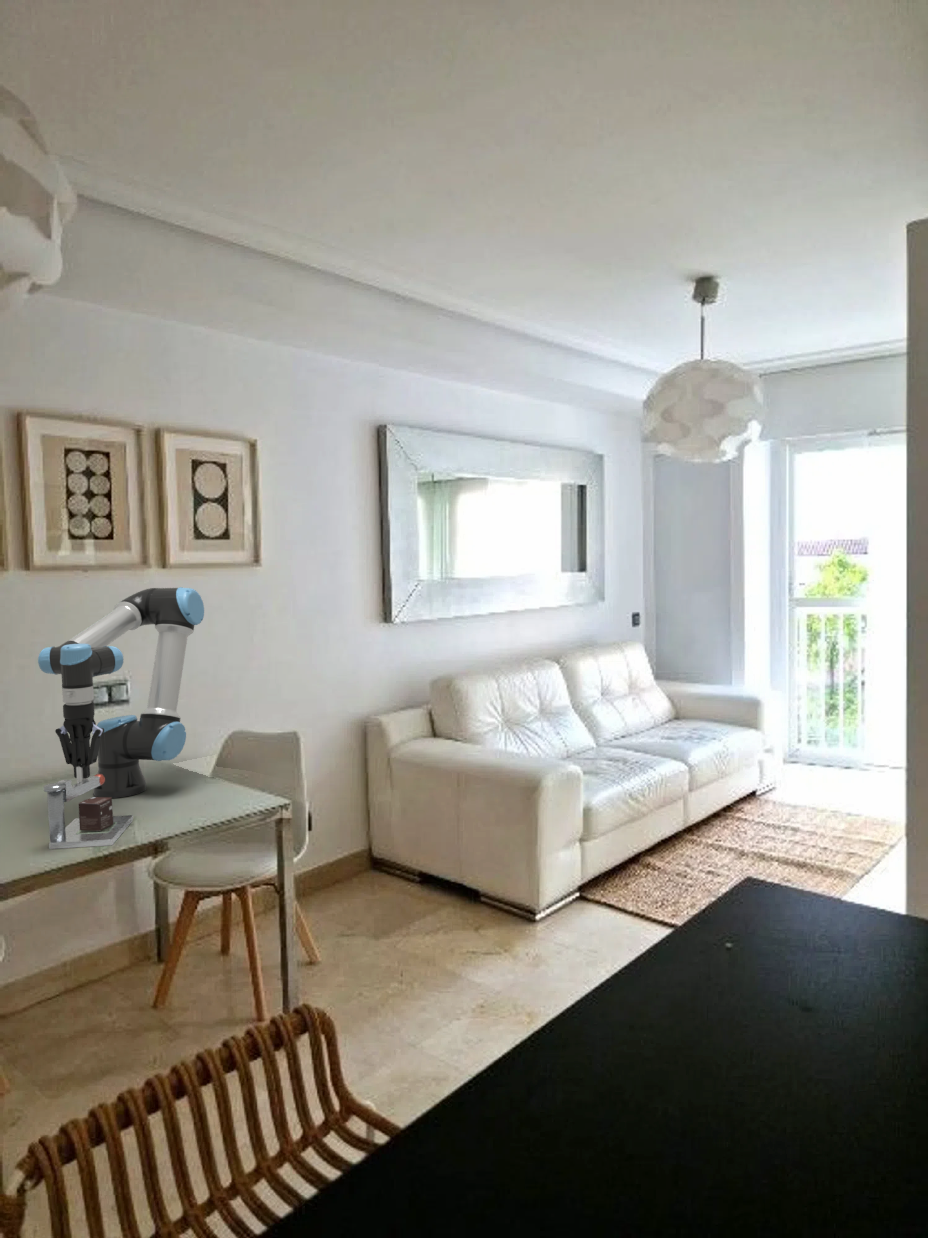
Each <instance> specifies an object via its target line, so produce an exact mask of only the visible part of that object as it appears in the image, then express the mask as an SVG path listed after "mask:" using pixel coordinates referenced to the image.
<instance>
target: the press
mask: <svg viewBox="0 0 928 1238" xmlns="http://www.w3.org/2000/svg"><path fill="white" fill-rule="evenodd" d="M46 793H47V812H48V813H47V814H48V827H49V828H48V829H49V842H48V849H49V850H54V849H55V850H56V849H71V848H73V849H74V848H88V847H104V846H113V845H114V844H115V842H116V841H117V840H118V839H119V837H120V836H122V834H123V833H124V832H125V831H126V830H127V828H128V827H129V826H130V824H132V822H133V821H134V819H133V818H134V815H133V814H129V815H113V825H111V826H109V827H107V828H106V829H104V830H102V831H81V830H80V823H79V817H77V818H73V820H72V821H71V822H69V824H68V825H66V817H65V802H64V796H63V790H61V791H56V792H46Z"/></svg>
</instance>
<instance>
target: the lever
mask: <svg viewBox="0 0 928 1238" xmlns="http://www.w3.org/2000/svg"><path fill="white" fill-rule="evenodd" d="M104 782H105V777H104V776H103V775H102V774H97V773H96V774H94V776H93V775H92V776H90V777H88V779H86V780H84V781H81V782H79V783H77V782H76V783H75V784H73V785H72V780H71V779H61V780H59V781H57V782H53V783H48V784H45V785H43V791H44V792H45V793H47V792H56V791H61V790H63V796H64V803H67V802H70V801H72V800H73V799H75V798H77V797H79V796H81V795H83V794H86V793H88V792H90V791H92V790H93V789H94V788H96V787H98V786H100V785H102V784H103V783H104Z"/></svg>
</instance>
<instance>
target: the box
mask: <svg viewBox="0 0 928 1238" xmlns="http://www.w3.org/2000/svg"><path fill="white" fill-rule="evenodd" d="M112 801H113V798H111V797H96V796H93V797H90V798H87V799H84V800H83V801H80V802H78V818H79V823H80V830H81V831H102V830H104V829H106V828H107V827H109V826H111V825H113V816H114V814H113V802H112Z"/></svg>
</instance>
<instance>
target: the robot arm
mask: <svg viewBox="0 0 928 1238" xmlns="http://www.w3.org/2000/svg"><path fill="white" fill-rule="evenodd" d="M203 601H204V600H203V599H202V596H201V595H200V593H199V592H198V591H197V590H195V589H194V588H191V587H181V586H180V587H150V588H146V589H143V590H140V591H138V592H137V591H136V593H133V594H131V595H129V596H128V597H126V598H124V599H122V600H121V601H119V602H118V603H116V605H114V607H113V610H112V611H111V612H109V613H107V614H106V615H105V616H104V615H103V617H102V618H99V619H98V620H97V621H95V622H94V623H92V624H91V625H89V626H88V627H87V628H84V630H82V631H80V632H79V633H77V634H76V635H73V637H71V638H70V639H68V640H67V641H65V642H64V643H62V644H61V645H59V646H48V647H47V646H46V647H44V648H43V649H42V650H41V651H40V652H39V653H38V654H39V655H38V658H37V663H38V666H39V669H40V671H42V672H43V673H44V674H50V675H60V676H61V690H62V691H61V692H62V693H61V695H62V703H63V705H62V712H63V714H62V715H63V718H64V720H63V723H62V726H60V727H59V728H57V729H55V730H54V732H55V734H56V735H57V737H58V739H59V741H60V745H61V750H62V752H63V755H64V760H65V764H67V765H71V766H72V767H73V777H74V778H75V779H76V784H77V783H79V782H81V781H84V780H86V779H88V778H90V777H91V767H90V766H91V765H93V764H95V763H97V765H98V769H97V773H96V774H102V775H103V776H104V777H105V782H104V783H103V784H102V785H100V786H98V787H96V788H94V789H92V790H93V791H92V792H93V797H111V798H112V799H117V798H119V799H120V798H125V797H131V796H134V795H138V794H141V793H143V792H145V791H146V790H147V781H146V778H145V776H144V774H143V771H142V768H141V766H140V760H141V761H157V762H162V761H170V760H171V761H172V760H174V759H175V758H177V757H178V756H179V755H180V754H181V752H182V750H183V749H184V746H185V745H186V739H187V731H186V727H185V725H184V724H183V723H181V716H180V715H179V713H178V712H177V710H178V709H177V708H178V702H179V697H180V689H181V684H182V676H183V669H184V663H185V656H186V649H187V644H188V643H187V642H188V638H189V636H190V635H192V634H194V630H195V626H197V625H200V624H201V623H202V622H203V620H204V617H205V605H204V602H203ZM149 625H154V629H155V630H156V631H157V632H158V638H157V644H156V649H155V650H156V651H155V655H154V662H153V669H152V675H151V681H150V687H149V692H148V700H147V707H146V709H145V710H144V711H142V712H141V713H140V716H139V717H140V718H139V720H138V718H137V715H135V714H128V715H121V716H116V717H111V718H107V719H103V720H101V721H99V722H98V723H97V722H96V721H95V703H94V702H93V701H94V700H95V695H94V678H95V677H99V676H105V675H110V674H113V673H116V672H118V671H119V670H120V669H122V667H123V664H124V655H123V652H122V651H121V650H120V649H119V648H118V647H116V646H112V645H110V644H111V643H112V642H114V641H116V640H117V639H119V638H120V637H122V635H124V634H126V633H127V632H128V631H134V630H136V629H137V630H138V628H140V627H142V626H149ZM96 723H97V724H96ZM91 734H92V735H91ZM91 736H92V737H91Z"/></svg>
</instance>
